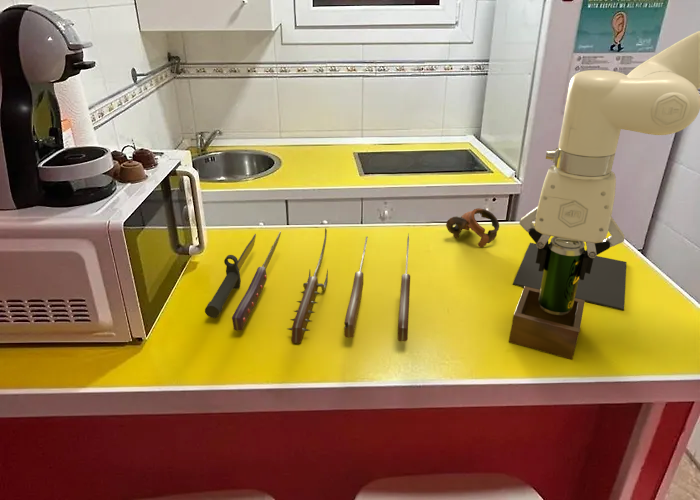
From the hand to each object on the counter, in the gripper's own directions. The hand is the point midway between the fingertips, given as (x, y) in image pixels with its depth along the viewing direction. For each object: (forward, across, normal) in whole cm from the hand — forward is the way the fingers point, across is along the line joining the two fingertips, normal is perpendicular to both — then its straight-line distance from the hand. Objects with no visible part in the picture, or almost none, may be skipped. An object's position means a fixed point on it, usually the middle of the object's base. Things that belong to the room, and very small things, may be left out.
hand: (561, 270), depth 83 cm
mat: (+13, +1, +24) cm, 27 cm away
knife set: (+12, -42, -6) cm, 44 cm away
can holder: (+13, -1, 0) cm, 13 cm away
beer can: (+7, 0, 0) cm, 7 cm away
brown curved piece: (+12, -22, +30) cm, 39 cm away
